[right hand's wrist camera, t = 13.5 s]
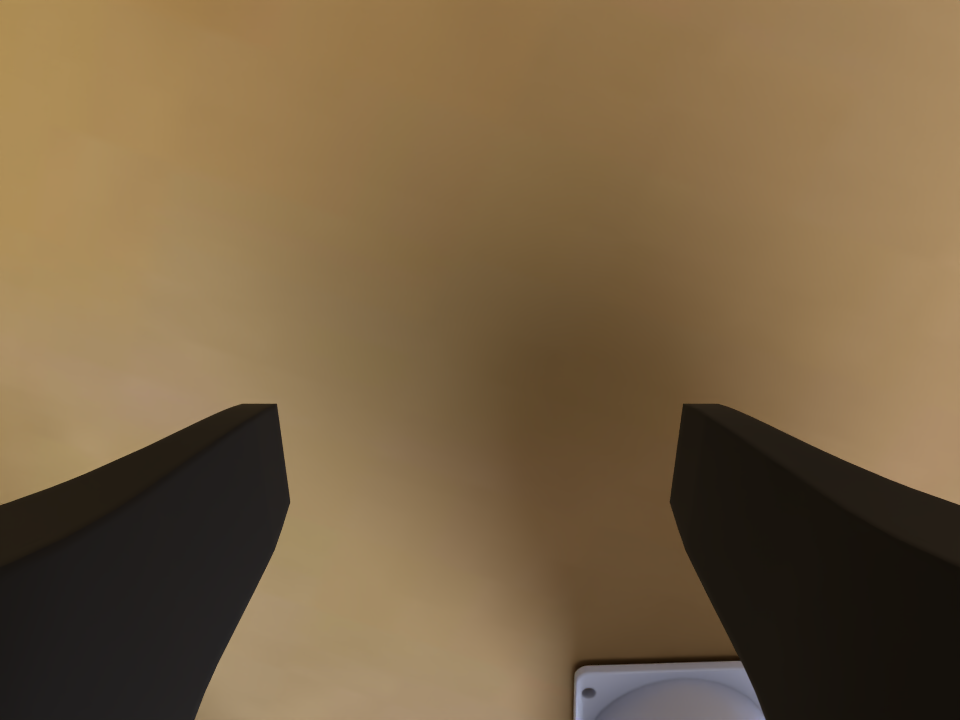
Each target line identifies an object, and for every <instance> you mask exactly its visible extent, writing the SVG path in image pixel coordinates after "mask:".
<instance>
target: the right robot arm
mask: <svg viewBox="0 0 960 720" xmlns="http://www.w3.org/2000/svg"><path fill="white" fill-rule="evenodd" d="M289 504H290V497H289V489H288V482H287V475H286V467H285V460H284V453H283V445H282V438H281V431H280V423H279V416H278V409H277V404H240V405H237V406H234V407H231V408H228V409H226V410H223V411H221V412H219V413H216V414H214V415H212V416H210V417H208V418H205V419H203V420H201V421H199V422H197V423H195V424H193V425H191V426H189V427H186V428H184V429H182V430H180V431H178V432H176V433H174V434H172V435H170V436H168V437H166V438H164V439H161V440H159V441H157V442H155V443H153V444H151V445H149V446H147V447H145V448H142V449H140V450H138V451H136V452H133V453H131V454H129V455H127V456H124V457H122V458H120V459H118V460H115V461H113V462H111V463H109V464H106V465H104V466H102V467H100V468H97V469H95V470H93V471H91V472H88V473H86V474H84V475H81V476H79V477H76V478H74V479H71V480H69V481H66V482H64V483H61V484H59V485H56V486H53V487H51V488H48V489H45V490H43V491H40V492H37V493H34V494H31V495H29V496H26V497H23V498H20V499H17V500H15V501H12V502H9V503H6V504H3V505H0V720H194V719H195V717H196V714H197V712H198V709H199V706H200V704H201V701H202V698H203V696H204V693H205V691H206V689H207V686H208V684H209V682H210V680H211V678H212V675H213V673H214V671H215V669H216V666H217V664H218V662H219V660H220V658H221V656H222V654H223V652H224V650H225V648H226V646H227V644H228V642H229V640H230V638H231V636H232V634H233V632H234V631H235V629H236V627H237V625H238V623H239V621H240V619H241V617H242V615H243V613H244V611H245V609H246V607H247V605H248V603H249V601H250V599H251V597H252V595H253V593H254V591H255V589H256V587H257V585H258V583H259V581H260V579H261V577H262V575H263V573H264V571H265V569H266V567H267V565H268V563H269V561H270V558H271V556H272V554H273V552H274V550H275V547H276V544H277V541H278V539H279V536H280V533H281V530H282V527H283V524H284V520H285V517H286V514H287V511H288V508H289ZM670 504H671V508H672V511H673V514H674V517H675V520H676V524H677V527H678V530H679V533H680V536H681V539H682V541H683V544H684V547H685V550H686V552H687V554H688V556H689V558H690V561H691V563H692V565H693V567H694V569H695V571H696V573H697V575H698V577H699V579H700V581H701V583H702V585H703V587H704V589H705V591H706V593H707V595H708V597H709V599H710V601H711V603H712V605H713V607H714V609H715V611H716V613H717V615H718V617H719V619H720V621H721V623H722V625H723V627H724V629H725V631H726V632H727V634H728V636H729V638H730V640H731V642H732V644H733V646H734V648H735V650H736V652H737V654H738V656H739V658H740V660H741V661H718V662H685V663H653V664H621V665H589V666H583V667H581V668H579V669H578V670H577V671H576V672H575V675H574V716H573V720H960V505H958V504H955V503H952V502H949V501H946V500H944V499H941V498H938V497H935V496H932V495H929V494H927V493H924V492H921V491H918V490H915V489H912V488H910V487H907V486H905V485H902V484H899V483H897V482H894V481H892V480H889V479H887V478H884V477H882V476H879V475H877V474H875V473H872V472H870V471H868V470H865V469H863V468H861V467H858V466H856V465H854V464H851V463H849V462H846V461H844V460H842V459H840V458H838V457H835V456H833V455H831V454H829V453H827V452H824V451H822V450H820V449H818V448H816V447H814V446H812V445H809V444H807V443H805V442H803V441H801V440H799V439H797V438H795V437H793V436H791V435H788V434H786V433H784V432H782V431H780V430H778V429H776V428H774V427H772V426H770V425H768V424H766V423H763V422H761V421H759V420H757V419H755V418H753V417H751V416H748V415H746V414H744V413H742V412H739V411H737V410H735V409H732V408H729V407H727V406H723V405H720V404H683V409H682V416H681V423H680V431H679V438H678V445H677V453H676V460H675V467H674V475H673V482H672V489H671V497H670ZM587 688H590V689H587Z"/></svg>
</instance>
